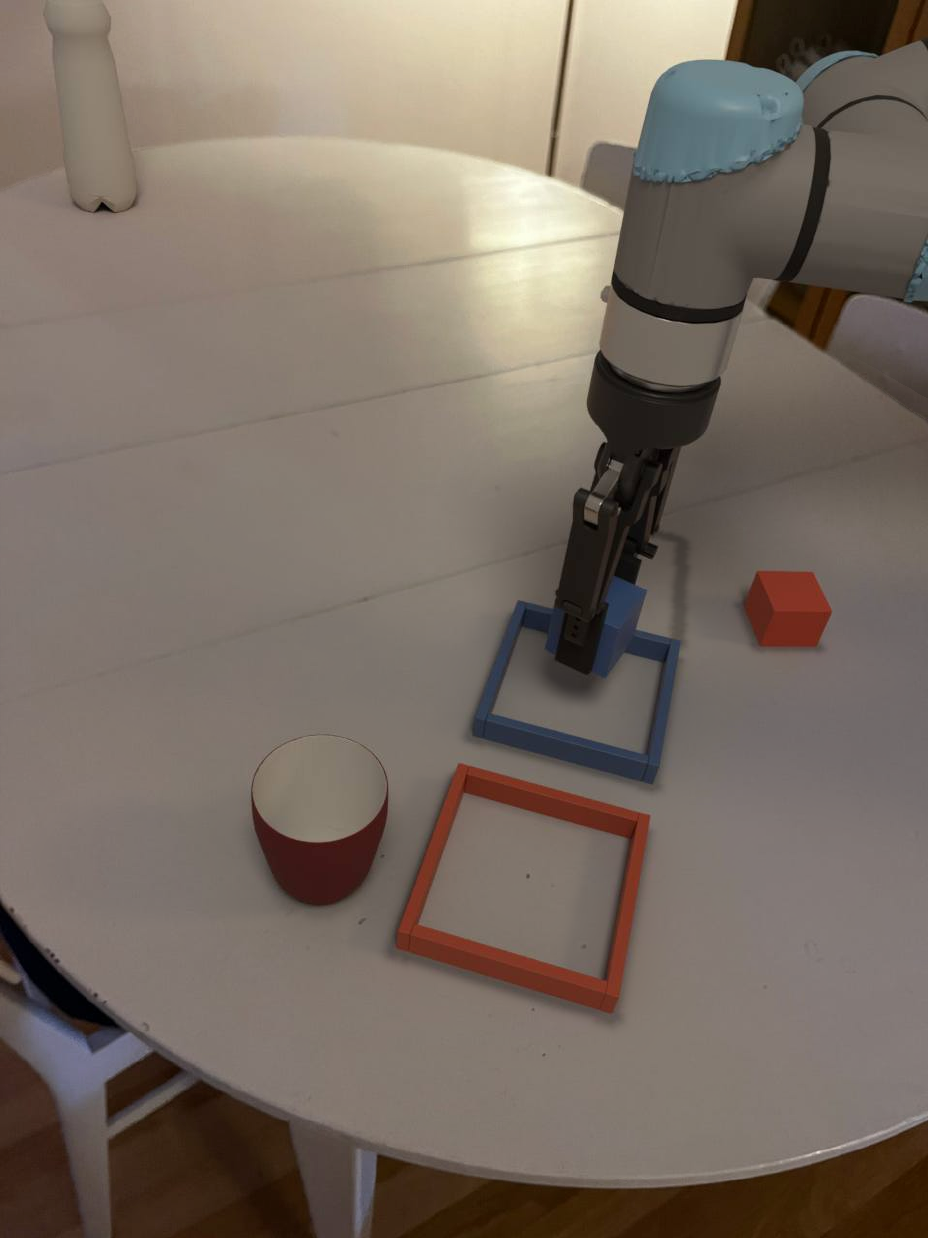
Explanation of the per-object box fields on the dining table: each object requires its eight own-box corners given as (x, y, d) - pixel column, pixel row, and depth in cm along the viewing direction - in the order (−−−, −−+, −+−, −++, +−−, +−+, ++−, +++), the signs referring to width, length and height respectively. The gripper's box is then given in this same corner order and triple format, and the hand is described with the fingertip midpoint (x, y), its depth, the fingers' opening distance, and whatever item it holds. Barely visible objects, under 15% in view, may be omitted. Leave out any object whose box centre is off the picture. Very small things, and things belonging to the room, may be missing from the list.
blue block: (633, 639, 77) (647, 589, 73) (605, 679, 73) (619, 629, 70) (573, 612, 78) (585, 562, 75) (544, 650, 75) (554, 599, 72)
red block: (794, 614, 90) (813, 571, 87) (813, 654, 87) (832, 611, 83) (740, 613, 90) (756, 570, 86) (756, 654, 86) (774, 610, 83)
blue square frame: (672, 666, 84) (681, 640, 82) (650, 792, 74) (659, 766, 72) (513, 625, 86) (517, 599, 84) (471, 743, 76) (474, 717, 74)
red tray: (641, 840, 71) (650, 815, 69) (609, 1021, 61) (619, 997, 59) (455, 788, 73) (458, 762, 71) (395, 955, 63) (397, 930, 61)
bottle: (74, 189, 143) (30, -64, 123) (141, 190, 145) (109, -59, 124) (67, 215, 137) (21, -47, 116) (138, 216, 138) (104, -42, 118)
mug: (307, 786, 72) (304, 691, 65) (414, 822, 71) (422, 728, 64) (236, 911, 65) (225, 817, 58) (354, 953, 63) (357, 863, 56)
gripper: (659, 288, 67) (595, 559, 83) (532, 403, 55) (486, 694, 71) (768, 324, 64) (681, 596, 80) (660, 452, 53) (583, 742, 68)
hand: (590, 641), depth 76 cm, fingers closed on blue block, 5 cm apart
